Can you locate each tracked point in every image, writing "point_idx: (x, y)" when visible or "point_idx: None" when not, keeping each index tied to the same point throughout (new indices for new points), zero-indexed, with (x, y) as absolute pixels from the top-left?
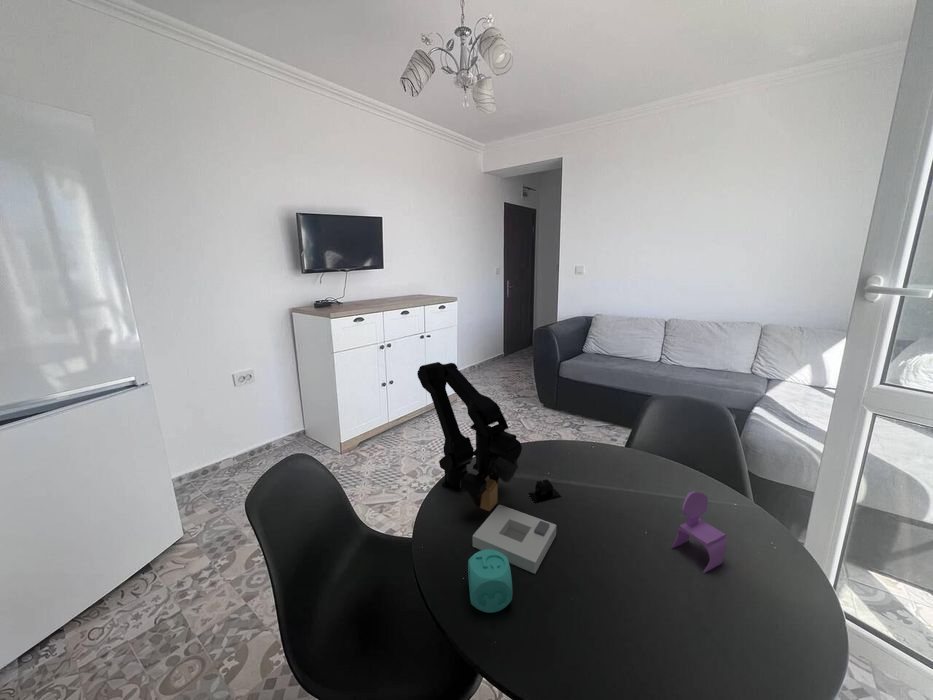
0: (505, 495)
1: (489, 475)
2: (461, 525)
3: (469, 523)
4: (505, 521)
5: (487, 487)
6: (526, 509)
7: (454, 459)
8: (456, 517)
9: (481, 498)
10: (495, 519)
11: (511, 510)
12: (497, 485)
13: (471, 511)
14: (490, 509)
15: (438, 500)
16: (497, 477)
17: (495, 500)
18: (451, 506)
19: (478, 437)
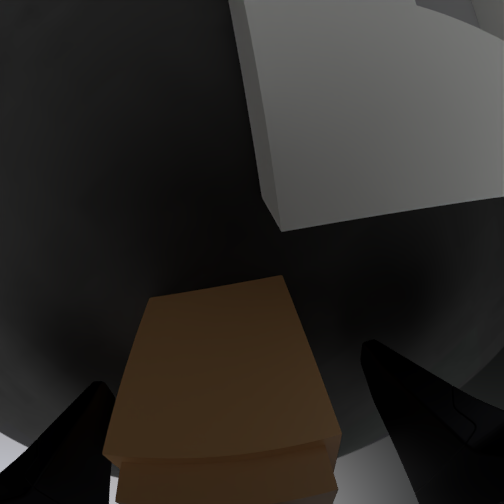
0: (54, 299)
1: (104, 500)
2: (458, 302)
3: (439, 286)
4: (458, 33)
5: (333, 496)
6: (56, 71)
7: None
8: (418, 355)
9: (415, 394)
10: (485, 126)
11: (285, 26)
12: (106, 435)
13: (349, 349)
14: (272, 282)
15: (344, 447)
16: (53, 471)
17: (176, 317)
18: (357, 413)
19: None
